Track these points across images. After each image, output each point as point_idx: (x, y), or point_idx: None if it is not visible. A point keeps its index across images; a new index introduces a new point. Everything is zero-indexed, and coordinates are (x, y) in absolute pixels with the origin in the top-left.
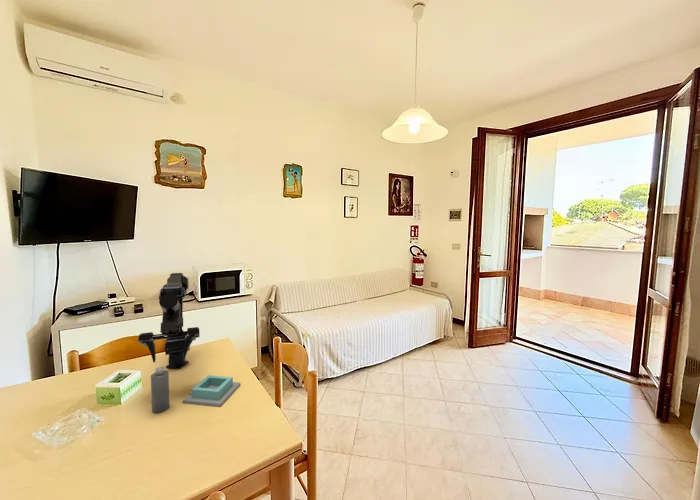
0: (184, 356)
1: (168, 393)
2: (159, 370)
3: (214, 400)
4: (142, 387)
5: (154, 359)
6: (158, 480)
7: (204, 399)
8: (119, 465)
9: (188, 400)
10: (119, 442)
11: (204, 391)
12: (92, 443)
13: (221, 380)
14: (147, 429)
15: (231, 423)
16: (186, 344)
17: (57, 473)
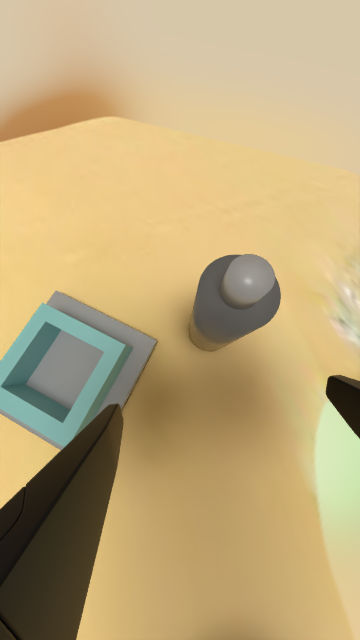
0: (112, 406)
1: (191, 316)
2: (243, 256)
3: (69, 312)
4: (315, 495)
5: (348, 382)
6: (158, 143)
7: (96, 325)
8: (226, 182)
9: (139, 333)
10: (253, 234)
11: (85, 324)
12: (304, 245)
13: (26, 397)
14: (214, 258)
15: (44, 230)
16: (7, 541)
17: (315, 190)
